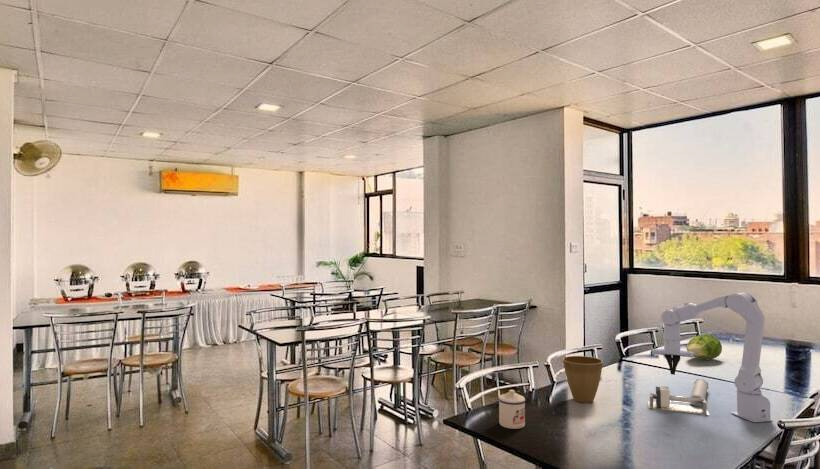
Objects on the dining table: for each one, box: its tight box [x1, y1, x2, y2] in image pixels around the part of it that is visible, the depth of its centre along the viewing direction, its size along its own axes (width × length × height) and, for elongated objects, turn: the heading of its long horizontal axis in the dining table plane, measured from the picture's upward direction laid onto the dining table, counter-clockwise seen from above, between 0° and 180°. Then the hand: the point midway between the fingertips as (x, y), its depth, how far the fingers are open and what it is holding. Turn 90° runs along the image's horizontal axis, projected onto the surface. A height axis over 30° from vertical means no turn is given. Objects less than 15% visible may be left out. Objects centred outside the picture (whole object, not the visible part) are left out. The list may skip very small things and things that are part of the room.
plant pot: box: [562, 355, 604, 404], centre depth 190 cm, size 15×15×16 cm
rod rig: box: [647, 392, 710, 416], centre depth 180 cm, size 20×8×5 cm, turn 66°
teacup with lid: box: [498, 389, 526, 430], centre depth 165 cm, size 12×9×12 cm
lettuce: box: [686, 333, 723, 361], centre depth 254 cm, size 14×23×13 cm, turn 128°
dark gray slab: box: [655, 386, 661, 407], centre depth 183 cm, size 1×6×6 cm, turn 156°
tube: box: [689, 378, 709, 407], centre depth 192 cm, size 5×5×25 cm
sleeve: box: [658, 385, 671, 407], centre depth 182 cm, size 3×6×6 cm, turn 156°
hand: (672, 373), depth 191 cm, fingers closed
